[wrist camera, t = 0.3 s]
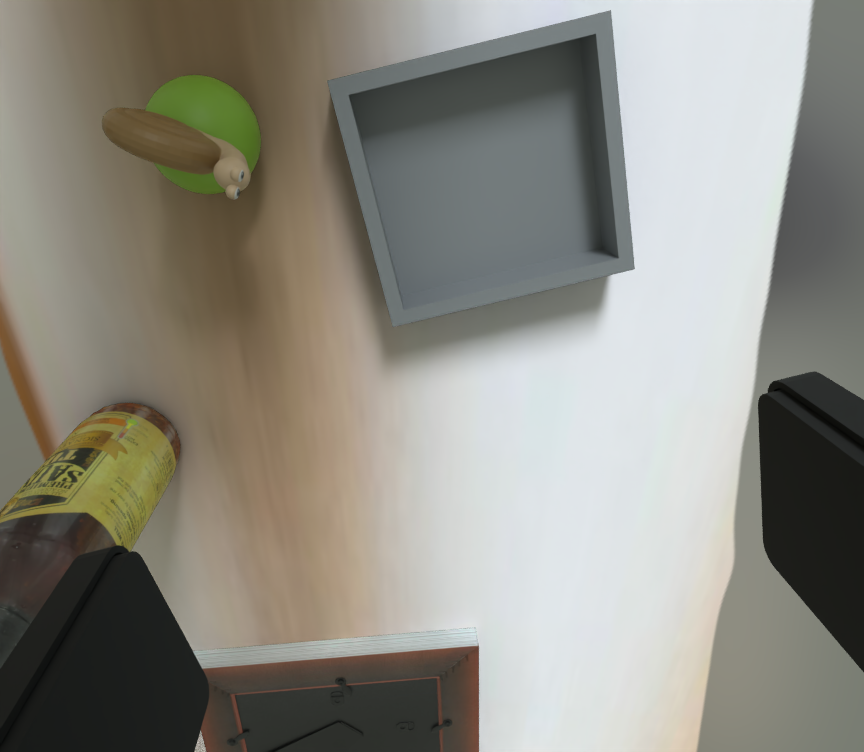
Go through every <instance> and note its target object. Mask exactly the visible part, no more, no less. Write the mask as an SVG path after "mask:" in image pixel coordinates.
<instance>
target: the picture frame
mask: <svg viewBox="0 0 864 752" xmlns="http://www.w3.org/2000/svg"><path fill="white" fill-rule="evenodd" d="M193 652H194V654H195V656H196V658H197V660H198V662H199V664H200V665H201V667H202V669H203V671H204V673H205V675H206V677H207V680H208V684H209V701H208V706H207V709H206V713H205V716H204V719H203V723H202V726H201V732H202V736H203V740H204V744H205V747H206V751H207V752H479V644H478V639H477V633H476V628H463V629H451V630H439V631H427V632H415V633H404V634H392V635H380V636H368V637H356V638H344V639H332V640H320V641H308V642H296V643H284V644H272V645H260V646H249V647H237V648H225V649H213V650H201V651H193Z"/></svg>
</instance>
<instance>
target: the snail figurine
mask: <svg viewBox="0 0 864 752" xmlns="http://www.w3.org/2000/svg"><path fill="white" fill-rule="evenodd" d="M102 128H103V131H104V133H105V135H106V136H107V137H108V138H109V139H110V140H111V141H112V142H113V143H114V144H115V145H117V146H118V147H120V148H122V149H123V150H125V151H127V152H129V153H131V154H133V155H135V156H138V157H140V158H142V159H145V160H148V161H150V162H153V163H154V164H155V166H156V167H157V168H158V169H159V171H160V172H161V173H162V174H163V175H164V176H165V177H166V178H168V179H169V180H170V181H171V182H173V183H174V184H176V185H178V186H180V187H181V188H184V189H186V190H189V191H192V192H196V193H202V194H216V193H222V192H225V191H226V195H227V197H228V198H230V199H232V200H235V199H237V198H238V197H239V194H240V191H242V190H244V189H245V188H246V187H247V186H248V184H249V182H250V179H251V172H252V171H253V169H254V168H255V166H256V163H257V161H258V158H259V154H260V148H261V135H260V129H259V125H258V122H257V119H256V116H255V114H254V112H253V110H252V109H251V107H250V105H249V104H248V103H247V101H246V100H245V99H244V98H243V97H242V96H241V95H240V94H239V93H238V92H237V91H236V90H235V89H233V88H232V87H231V86H229V85H228V84H226V83H224V82H222V81H220V80H217V79H215V78H212V77H208V76H202V75H187V76H182V77H178V78H175V79H173V80H171V81H169V82H167V83H165V84H164V85H163V86H161V87H160V88H159V89H158V90H157V91H156V92H155V93H154V94H153V96H152V97H151V99H150V100H149V102H148V104H147V107H146V109H145V110H141V109H129V108H114V109H111V110H109V111H108V112H106V113H105V115H104V116H103V119H102Z"/></svg>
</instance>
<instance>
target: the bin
mask: <svg viewBox="0 0 864 752" xmlns="http://www.w3.org/2000/svg"><path fill="white" fill-rule="evenodd" d="M327 82H328V86H329V89H330V93H331V97H332V101H333V104H334V108H335V112H336V116H337V119H338V123H339V127H340V131H341V134H342V138H343V142H344V146H345V150H346V153H347V157H348V161H349V165H350V168H351V172H352V176H353V180H354V183H355V187H356V191H357V195H358V198H359V202H360V206H361V210H362V213H363V217H364V221H365V225H366V228H367V232H368V236H369V240H370V243H371V247H372V251H373V255H374V258H375V262H376V266H377V270H378V273H379V277H380V281H381V285H382V288H383V292H384V296H385V300H386V303H387V307H388V311H389V315H390V318H391V322H392V326H393V327H395V326H399V325H403V324H408V323H412V322H416V321H420V320H424V319H428V318H433V317H437V316H441V315H445V314H449V313H454V312H458V311H462V310H466V309H470V308H474V307H479V306H483V305H487V304H491V303H495V302H500V301H504V300H508V299H512V298H516V297H520V296H525V295H529V294H533V293H537V292H541V291H546V290H550V289H554V288H558V287H562V286H566V285H571V284H575V283H579V282H583V281H587V280H592V279H596V278H600V277H604V276H608V275H612V274H617V273H621V272H625V271H629V270H633V269H635V268H634V257H633V246H632V235H631V224H630V213H629V203H628V192H627V181H626V170H625V159H624V148H623V137H622V126H621V116H620V105H619V94H618V83H617V72H616V61H615V50H614V39H613V29H612V18H611V10H610V11H606V12H602V13H598V14H594V15H590V16H586V17H582V18H578V19H574V20H570V21H566V22H562V23H558V24H554V25H550V26H546V27H542V28H538V29H534V30H530V31H526V32H522V33H518V34H514V35H510V36H506V37H501V38H497V39H493V40H489V41H485V42H481V43H477V44H473V45H469V46H465V47H461V48H457V49H453V50H449V51H445V52H441V53H437V54H433V55H429V56H425V57H421V58H417V59H413V60H409V61H405V62H401V63H397V64H393V65H389V66H385V67H381V68H377V69H373V70H369V71H365V72H360V73H356V74H352V75H348V76H344V77H340V78H336V79H332V80H328V81H327Z"/></svg>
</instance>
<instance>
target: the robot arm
mask: <svg viewBox="0 0 864 752" xmlns="http://www.w3.org/2000/svg"><path fill="white" fill-rule="evenodd" d="M758 414H759V442H760V470H761V498H762V526H763V543H764V548H765V551H766V553H767V555H768V558H769V560H770V561H771V563H772V565H773V566H774V567H775V569H776V570H777V571H778V572H779V573H780V574H781V576H782V577H783V578H784V579H785V580H786V581H787V583H788V584H789V585H790V586H791V587H792V589H793V590H794V591H795V592H796V593H797V594H798V596H800V598H801V599H802V600H803V601H804V603H805V604H806V605H807V606H808V607H809V608H810V610H811V611H812V612H813V613H814V614H815V616H816V617H817V618H818V619H819V620H820V621H821V623H823V625H824V626H825V627H826V628H827V630H828V631H829V632H830V633H831V634H832V636H833V637H834V638H835V639H836V640H837V641H838V643H839V644H840V645H841V646H842V647H843V648H844V650H845V651H846V652H847V653H848V654H849V655H850V657H851V658H852V659H853V660H854V661H855V663H856V664H857V665H858V666H859V667H860V668H861V670H863V672H864V400H863V399H861V398H860V397H858V396H856V395H855V394H853V393H851V392H850V391H848V390H846V389H845V388H843V387H842V386H840V385H838V384H836V383H835V382H833V381H832V380H830V379H828V378H826V377H825V376H823V375H822V374H820V373H817V372H809V373H805V374H801V375H797V376H793V377H789V378H785V379H781V380H777V381H773V382H772V383H771V384H770V386H769V388H768V393H766V394H763V395H762V396H760V398H759V402H758ZM208 701H209V684H208V680H207V677H206V675H205V673H204V671H203V669H202V667H201V665H200V664H199V662H198V660H197V658H196V656H195V654H194V652H193V651H192V649H191V647H190V645H189V643H188V641H187V640H186V638H185V636H184V634H183V632H182V630H181V628H180V627H179V625H178V623H177V621H176V619H175V617H174V616H173V614H172V612H171V610H170V608H169V606H168V605H167V603H166V601H165V599H164V597H163V595H162V593H161V592H160V590H159V588H158V586H157V584H156V582H155V581H154V579H153V577H152V575H151V573H150V571H149V569H148V568H147V566H146V564H145V562H144V560H143V559H142V557H141V556H140V554H138V553H137V552H133V551H132V552H129V551H128V549H126V548H125V547H124V546H120V545H116V546H112V547H108V548H104V549H100V550H96V551H92V552H88V553H84V554H81V555H79V556H77V557H76V558H75V559H74V560H73V562H72V563H71V565H70V566H69V568H68V569H67V571H66V572H65V574H64V575H63V577H62V578H61V580H60V581H59V583H58V584H57V586H56V587H55V589H54V590H53V592H52V593H51V594H50V596H49V597H48V599H47V600H46V602H45V603H44V605H43V606H42V608H41V609H40V611H39V612H38V614H37V615H36V617H35V618H34V620H33V621H32V623H31V624H30V626H29V627H28V628H27V630H26V631H25V633H24V634H23V636H22V637H21V639H20V640H19V642H18V643H17V645H16V646H15V648H14V649H13V651H12V652H11V654H10V655H9V657H8V658H7V660H6V661H5V662H4V664H3V665H2V667H1V668H0V752H194V751H195V747H196V744H197V740H198V737H199V733H200V730H201V726H202V723H203V719H204V716H205V713H206V709H207V706H208Z"/></svg>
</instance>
